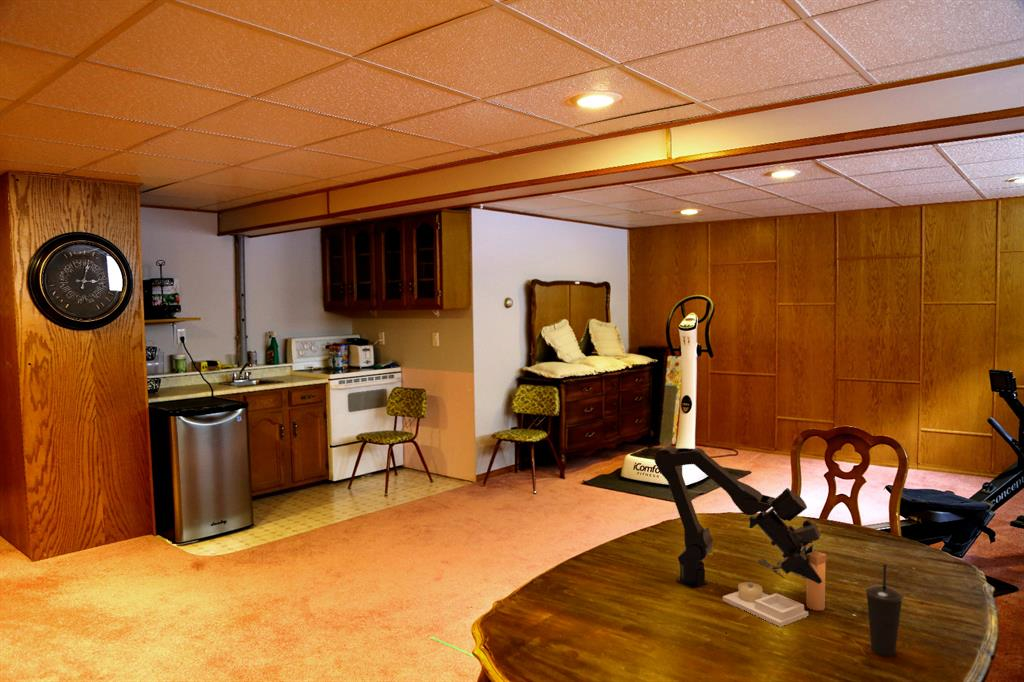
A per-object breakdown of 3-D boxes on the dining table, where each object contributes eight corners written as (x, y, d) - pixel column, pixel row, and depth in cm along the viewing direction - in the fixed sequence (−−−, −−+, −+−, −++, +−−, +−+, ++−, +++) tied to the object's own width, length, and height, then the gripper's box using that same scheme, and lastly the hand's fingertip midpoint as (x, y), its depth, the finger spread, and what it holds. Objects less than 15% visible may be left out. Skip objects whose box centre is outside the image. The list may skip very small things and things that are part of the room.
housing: (722, 600, 186) (722, 581, 186) (750, 591, 192) (750, 573, 192) (779, 627, 171) (780, 606, 171) (808, 616, 177) (808, 596, 176)
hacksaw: (756, 562, 214) (756, 557, 214) (785, 559, 217) (785, 554, 217) (807, 594, 191) (807, 589, 191) (839, 590, 193) (839, 585, 193)
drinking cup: (857, 643, 163) (859, 559, 161) (888, 641, 163) (890, 558, 162) (877, 660, 155) (879, 572, 154) (909, 658, 156) (911, 570, 154)
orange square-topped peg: (802, 605, 183) (803, 553, 182) (813, 601, 185) (814, 550, 184) (817, 611, 179) (818, 558, 178) (828, 607, 181) (829, 555, 181)
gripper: (795, 522, 175) (843, 574, 170) (805, 503, 191) (849, 550, 186) (762, 548, 179) (807, 599, 174) (774, 527, 195) (816, 573, 190)
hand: (821, 579), depth 181 cm, fingers closed on orange square-topped peg, 4 cm apart
